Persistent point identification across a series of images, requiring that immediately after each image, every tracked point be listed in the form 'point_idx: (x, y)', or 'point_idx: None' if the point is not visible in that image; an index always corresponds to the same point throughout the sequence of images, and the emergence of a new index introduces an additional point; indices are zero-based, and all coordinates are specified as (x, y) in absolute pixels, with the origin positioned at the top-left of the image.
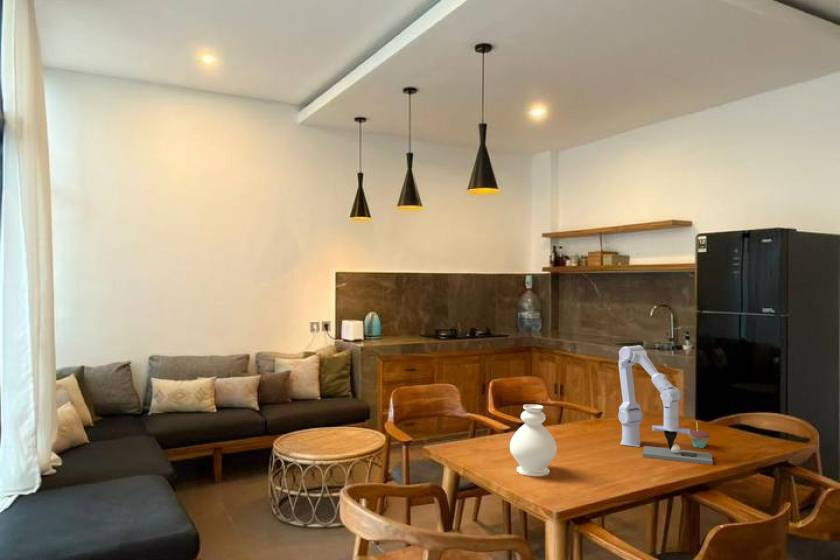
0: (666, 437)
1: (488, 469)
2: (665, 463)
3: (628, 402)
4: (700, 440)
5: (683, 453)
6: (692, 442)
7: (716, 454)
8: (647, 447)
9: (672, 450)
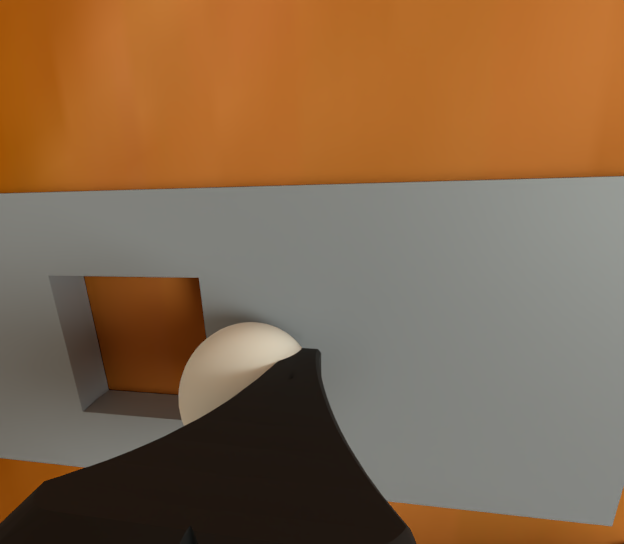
0: (353, 476)
1: None
2: (370, 3)
3: None
4: None
5: None
6: None
7: (9, 493)
8: (578, 477)
9: (280, 330)
